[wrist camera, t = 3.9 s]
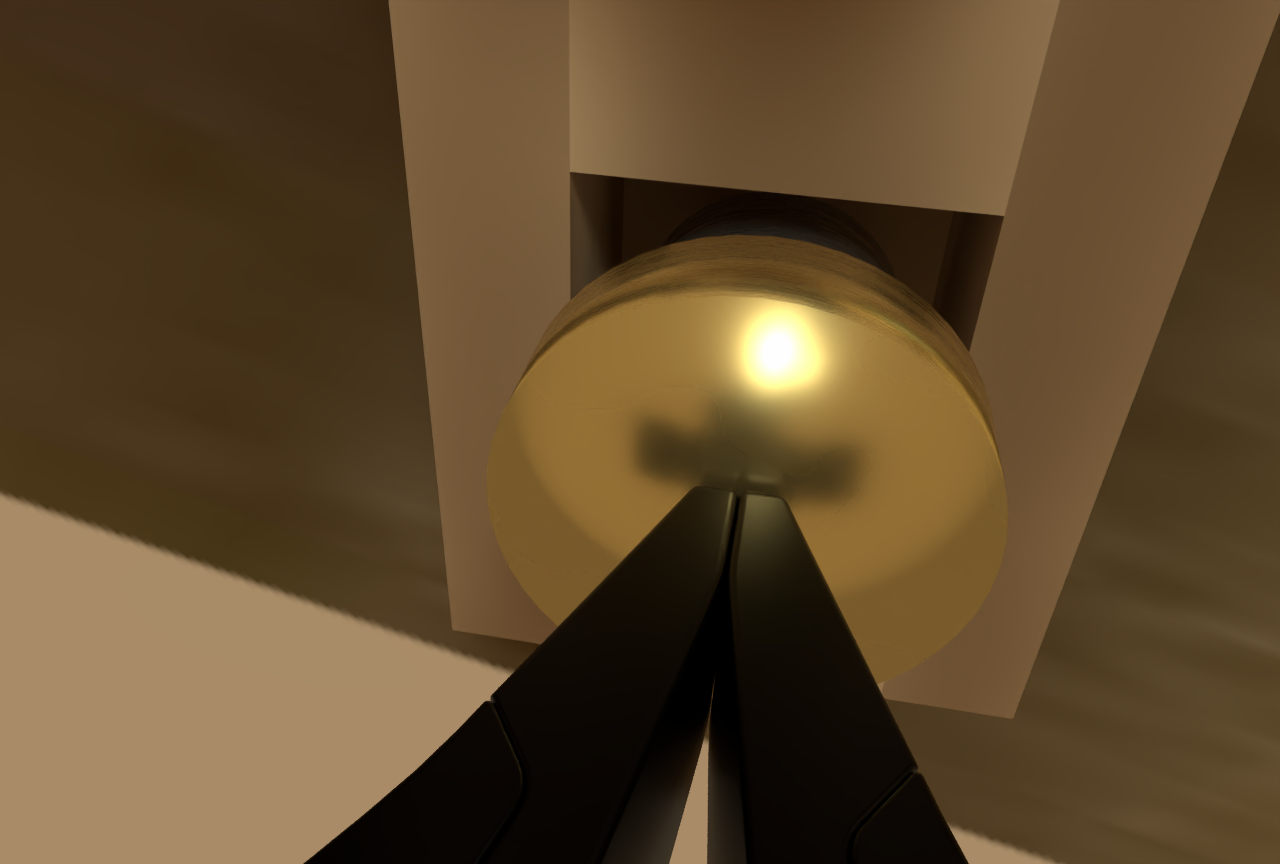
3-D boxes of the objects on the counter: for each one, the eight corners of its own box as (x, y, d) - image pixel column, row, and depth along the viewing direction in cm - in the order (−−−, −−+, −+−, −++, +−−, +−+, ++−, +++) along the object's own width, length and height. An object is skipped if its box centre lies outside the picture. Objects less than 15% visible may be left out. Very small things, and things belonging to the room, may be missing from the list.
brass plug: (1012, 145, 11) (1076, 334, 8) (926, 487, 14) (945, 736, 11) (583, 104, 12) (470, 266, 8) (582, 441, 15) (498, 663, 11)
